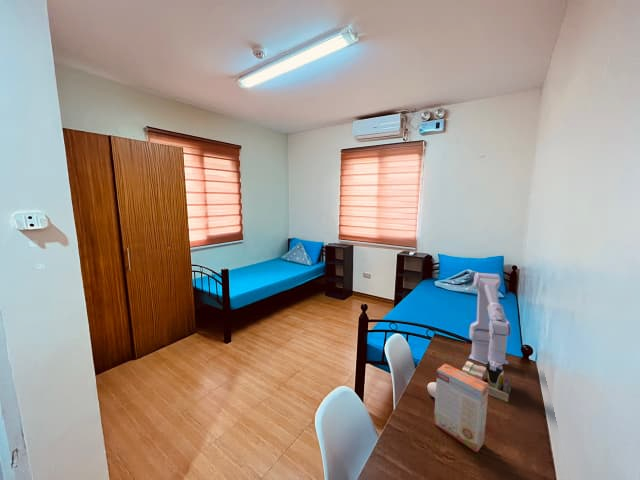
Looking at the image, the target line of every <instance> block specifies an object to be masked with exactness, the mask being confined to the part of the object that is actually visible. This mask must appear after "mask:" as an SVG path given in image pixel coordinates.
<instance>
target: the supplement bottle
mask: <svg viewBox="0 0 640 480" xmlns="http://www.w3.org/2000/svg"><path fill="white" fill-rule="evenodd" d="M498 369H501V370H503V367H502V365H500V366H498ZM504 375H505V373H504V370H503V371H502V373H501V374H500V375H499V376H498V380H497V382H496V384H495V383H492V382H490V379H489V374H488V373H487V380H486V383H488V384H489V386H490V387H492V388H495V389H497V390H501V389H503V385H504V384H503V382H504Z"/></svg>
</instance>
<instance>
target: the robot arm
mask: <svg viewBox="0 0 640 480" xmlns="http://www.w3.org/2000/svg"><path fill="white" fill-rule="evenodd" d="M501 283H502V282H501V276H500V275H499V274H498V273H487V272H486V273H485V272H484V273H483V272H475V273H474V275H473V288H474V289H477V305H476V308H477V309H476V320H475V321H474V322H472V323H471V324H470V326H469V331H468V333H469V339H470V340H471V341H472V342H471V343H472V344H471V353H470V354H469V356H468V359H469V360H473V361H475V362H477V363H481V364H484V365H485V368H486V372H487V375H488V374H489V379H490V382H492V383H495V384H496V382H497V380H498V376H499V375H500V374H501V373H502V371H503V372H504V370H503V369H502V370H501V369H498V366H500V365H502V368H503V366H505V365H509V360H506V352H507V341H508V337H510V335H511V333H512V332H511V331H512V328H511V324H510V322H509V320H508V318H506V314H505V311H504V307H503V305H502V304H500V302H499V295H498V294H499V293H498V289H500V285H501Z"/></svg>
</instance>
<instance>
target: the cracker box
mask: <svg viewBox="0 0 640 480" xmlns="http://www.w3.org/2000/svg"><path fill="white" fill-rule="evenodd" d="M488 387H489V384H488V383H487V381H486V382H485V380H484V381H482V380H480V379H477V378H475V377H473V376H471V375H469V374H467V373H465V372H462V370H460V369H459V368H456V367H454V366H452V365H450V364H447V363H444V364H442V365H441V366H440V367H438V368H437V369H436V397H435V401H434V415H433V424H434V425H435V426H437V427H438V428H439V429H440V430H442V431H444V432H445V433H447V434H448V435H450V436H451V437H453V438H455V440H457V441H458V442H459V443H462V444H463V445H465V446H466V447H467V448H468V449H470V450H472V451H473V452H475V453H478V452H479V451H480V449H481V448H482V446H484V444H485V433H486V425H487V424H486V421H487V410H488V399H489V394H488Z"/></svg>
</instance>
